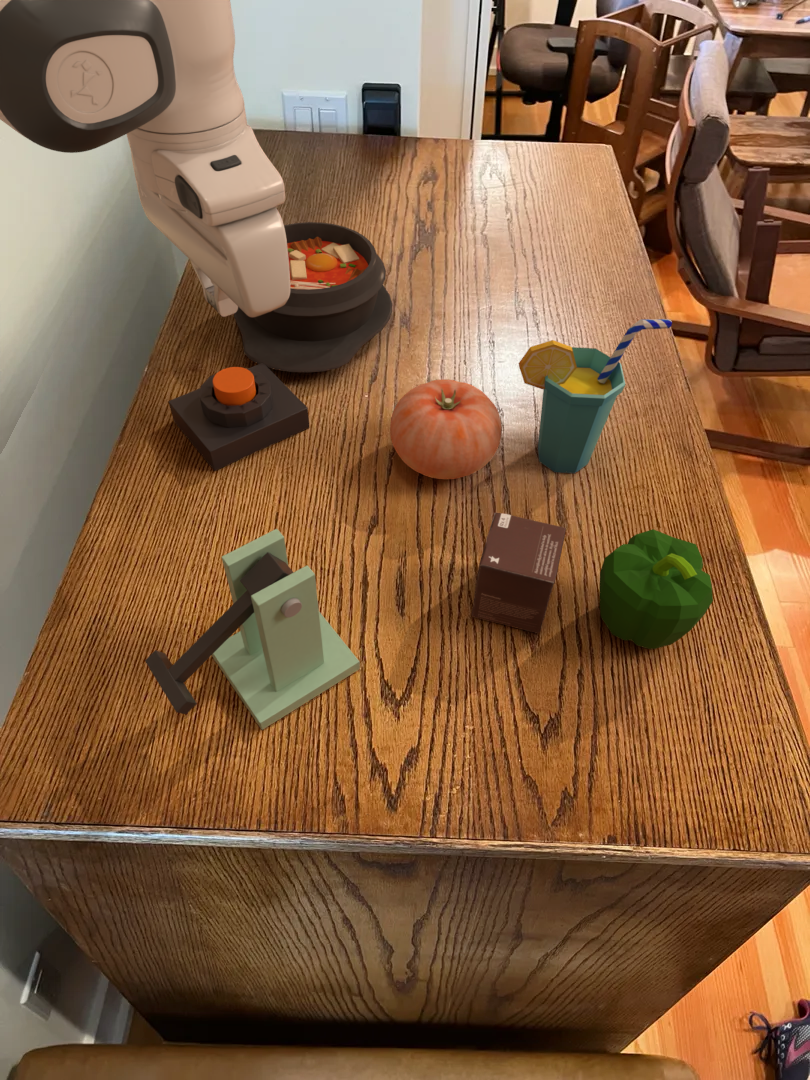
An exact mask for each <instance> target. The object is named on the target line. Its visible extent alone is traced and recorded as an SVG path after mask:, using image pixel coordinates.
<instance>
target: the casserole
mask: <svg viewBox="0 0 810 1080" xmlns="http://www.w3.org/2000/svg"><path fill="white" fill-rule="evenodd" d="M284 228H285V233H286V239H287V248H288V258H289V270H290V296H289V299H288V300H287V302H286V304H285V305H284V306H282V307H280V308H278V309H276V310H273V311H271V312H268V313H265V314H263V315H260V316H257V317H249V316H248V315H246V314H245V313H244V312H243V311H242V310H241V309H240V308H239V307H238V310H237V312H236V313H234V314H233V318H234V320H235V322H236V325H237V327H238V329H239V331H240V334H241V338H242V346H243V347H242V348H243V353H244V355H245V356H246V357H247V358H248V359H249V360H250V361H251V362H254V363H256V364H257V365H258V364H261V363H264V364H265V365H266V366H267V367H268V368H269V369H272V370H276V371H283V372H289V373H319V372H326V371H327V372H328V371H331V370H336V369H339V368H341V367H343V366H344V365H347V364H349V363H350V361H351V360H352V359H353V358H354V357H355V355H356V354H357V353H358V352H359V351H360V349H361V348H362V347H363V346H364V345H365V344H366V343H368V342H369V341H370V340H371V339H373V338H374V337H375V336H376V335H378V334H379V333H380V332H382V331H383V329H384V328H385V327H386V325H387V324H389V321H390V319H391V316H392V314H393V301H392V298H391V295H390V293H389V291H388V290H387V289H386V287H385V286H384V283H385V281H386V276H387V275H386V274H387V269H386V267H385V263H384V260H382V258H381V257H380V255H379V254H377V251H376V248H375V246H374V245H373V243H372V242H371V241H370V240H369V239H368V238H367V237H366V236H365V235H364V234H361V233H359V232H358V231H356V230H354V229H352V228H349V227H347V226H343V225H339V224H336V223H328V222H318V221H317V222H315V221H305V222H304V221H303V222H295V223H289V224H284Z"/></svg>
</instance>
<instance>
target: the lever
mask: <svg viewBox="0 0 810 1080" xmlns="http://www.w3.org/2000/svg"><path fill="white" fill-rule="evenodd" d="M294 572H295V571H294V570H292V568H291V567H290V566H289V564H288V565H287V564H286V562H284V561H282V560H281V559H279V558H277V557H276V556H274V555H272V554H271V553H269V552H267V553H266V554H265V555H264V556H263V557H262V558H261V559H260V560H259V561H258V562H257V563H256V564H255V565H254V566H253V567H252V568H251V569H250V570H249V571H248V572H247V573H246V574H245V575H244V576H243V577H242V578H241V579H240V581H241V583H242V584H243V585H244V587H245V588H246V589H247V591H246V592H245V593H244V594H243V595H242V596H241V597H240V598H239V599H238V600H237V601H236V602H235V603H234V604H233V603H232V605H231V606H230V607H229V608H228V609H226V611H225V612H223V614H222V615H220V616H219V618H218V619H217V620H216V621H215V622H214V623H213V624H212V625H210V627H208V629H207V630H206V631H205V632H204V633H203V634H202V635H201V636H200V637H199V638H198V639H197V640H196V641H195V642H193V644H192V645H191V646H190V647H189V648H188V649H187V650H186V651H185V652H184V653H183V654H182V655H181V656H180V657H179V658H178V659H177V660H176V661H175V662H174V663H172V662H171V660H170V658H169V657H168V655H167V654H166V652H163V651H159V650H156V649H154V651H153V652H152V653H150V655H149V656H148V657H147V658H145V660H144V662H145V664H146V665H147V667H148V668H149V670H150V671H151V674H152V675H153V677H154V678H155V680H156V682H157V683H158V685H159V687H160V689H161V690H162V692H163V693H164V695H165V696H166V698H167V700H168V701H169V703H170V705H171V706H172V708H173V709H174V711H175V712H176V714H177V713H178V714H180V715H181V714H182V715H188V713H189V712H190V711H192V710H193V708H194V707H195V706H196V705H197V704H198V703H197V701H196V700H195V698H194V696H193V694H192V693H191V692H190V690H189V689H188V687H187V686H186V684H185V683H186V682H187V681H188V680H189V678H191V676H192V675H194V674H195V673H196V672H197V670H199V669H200V667H201V666H202V665H204V663H206V662H207V661H208V659H209V658H210V657H212V654H213V653H214V652H215V651H216V650H217V649H218V648H219V647H220V646H221V645H222V644H223V643H224V642H225V641H226V640H227V639H228V638H229V637H231V636H233V635H234V634H235V632H236V631H237V630H238V629H240V628H239V627H240V626H241V625H242V624H243V623H244V622H245V621H246V620H247V619H248V618H249V617H250V616H251V615H252V614H253V613H254V608H253V604H252V599H251V595H253V594H255V593H257V592H259V591H261V590H262V589H264V588H266V587H268V586H270V585H272V584H273V583H275V582H277V581H279V580H281V579H283V578H285V577H286V576H288V575H290V574H292V573H294Z"/></svg>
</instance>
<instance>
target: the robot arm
mask: <svg viewBox="0 0 810 1080" xmlns="http://www.w3.org/2000/svg"><path fill="white" fill-rule="evenodd" d="M233 17H234V16H233V10H232V3H231V0H0V121H2V122H3V123H4V124H5V125H7V126H8V127H10V128H11V129H13V130H14V131H15V132H17V133H18V134H20V135H21V136H23V137H24V138H25V139H28V140H29V141H30V142H32V143H34V144H36V145H38V146H40V147H42V148H45V149H47V150H50V151H55V152H59V153H64V154H65V153H66V154H67V153H69V154H74V153H76V154H77V153H84V152H88V151H92V150H95V149H97V148H100V147H103V146H105V145H108V144H109V143H111V142H113V141H115V140H117V139H119V138H122V137H124V136H125V135H126V137H127V141H128V145H129V149H130V156H131V162H132V168H133V172H134V178H135V182H136V187H137V192H138V197H139V200H140V204H141V206H142V209H143V212H144V214H145V216H146V218H147V219H148V221H149V222H150V223H152V224H153V225H154V227H155V228H157V229H158V230H159V231H160V232H161V233H162V234H163V235H164V236H165V237H166V238H167V239H168V240H169V241H170V242H171V243H172V244H173V245H174V246H175V247H176V248H177V249H178V250H179V251H180V252H181V253H182V254H183V255H184V256H185V257H186V258H187V259H188V260H190V264H191V266H192V268H193V270H194V272H195V274H196V276H197V279H198V281H199V283H200V285H201V288H202V292H203V297H204V300H205V301H206V302H207V304H209V305H210V306H211V307H212V308H213V309H214V311H216V312H217V313H218V315H219V316H221V317H223V318H225V317H229V316H232V315H234V313H236V312H237V310H238V307H239V308H240V309H241V310H242V311H243V312H244V313H245V314H246V315H248V316H249V317H257V316H260V315H263V314H265V313H268V312H271V311H273V310H276V309H278V308H280V307H282V306H284V305H285V304H286V302H287V300H288V299H289V296H290V270H289V258H288V248H287V239H286V233H285V228H284V225H285V224H284V221H283V218H282V216H281V214H280V211H279V209H278V208H277V207H278V206H280V205H283V204H284V203H285V202H286V189H285V183H284V180H283V177H282V176H281V173H280V172H279V171H278V170H277V168H276V167H275V166H274V164H273V163H272V161H271V160H270V159H269V157H268V156H267V154H266V153H265V152H264V150H263V149H262V147H261V145H260V143H259V141H258V140H257V137H256V135H255V132H254V130H253V128H252V127H251V125H249V124H248V120H247V113H246V106H245V98H244V95H243V92H242V90H241V87H240V84H239V82H238V80H237V77H236V73H235V66H234V58H235V57H234V56H235V47H236V32H235V25H234V18H233Z"/></svg>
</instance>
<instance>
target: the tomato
mask: <svg viewBox="0 0 810 1080" xmlns="http://www.w3.org/2000/svg"><path fill="white" fill-rule="evenodd" d="M502 431H503V430H502V421H501V417H500V414H499V410H498V408H497V406H496V405H495V403H494V402H493V401H492V400H491V399H490V398H489V397H488V395H487V394H485V392H484V391H482V390H481V389H479V388H478V387H476V386H474V385H473V384H470V383H468V382H462V381H457V380H454V379H434V380H433V379H432V380H430V381H428V382H425V383H424V382H423V383H421V384H418V385H416V386H414V387H412V388H411V389H410V390H409V391H407V392H406V393H405V394H404V395H403V396H402V397H401V398H400V399H399V400H398V402H397V403H396V405H395V407H394V408H393V412H392V414H391V417H390V425H389V435H390V440H391V443H392V447H393V448H394V451H395V452H396V453H397V455H398V456H399V458H400V459H401V461H402V462H403V463H404V464H405V465H406V466H407V467H409V468H410V469H411V470H413V471H415V472H416V473H419V474H421V475H423V476H426V477H429V478H432V479H437V480H438V479H439V480H454V479H455V480H456V479H460V478H464V477H468V476H470V475H472V474H474V473H476V472H478V471H481V469H482V468H484V467H485V466H487V464H488V463H489V462H491V460H492V459H493V457H494V456H495V454H496V453H497V451H498V449H499V447H500V444H501V439H502Z"/></svg>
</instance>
